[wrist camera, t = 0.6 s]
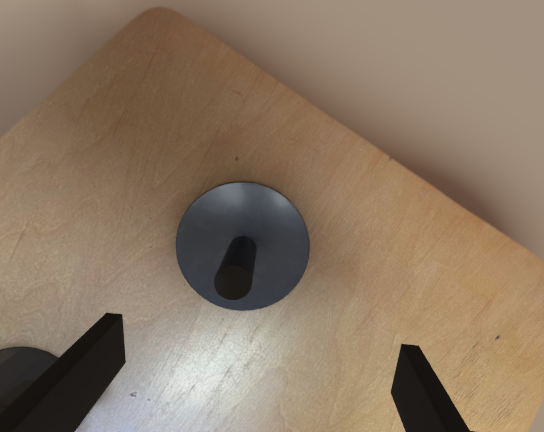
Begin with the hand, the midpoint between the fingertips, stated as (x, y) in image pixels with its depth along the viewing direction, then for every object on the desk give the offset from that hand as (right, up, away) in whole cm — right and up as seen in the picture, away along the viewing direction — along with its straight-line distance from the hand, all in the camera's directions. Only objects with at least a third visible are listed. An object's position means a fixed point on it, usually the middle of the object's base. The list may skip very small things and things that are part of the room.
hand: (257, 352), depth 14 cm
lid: (-2, +3, +17) cm, 17 cm away
